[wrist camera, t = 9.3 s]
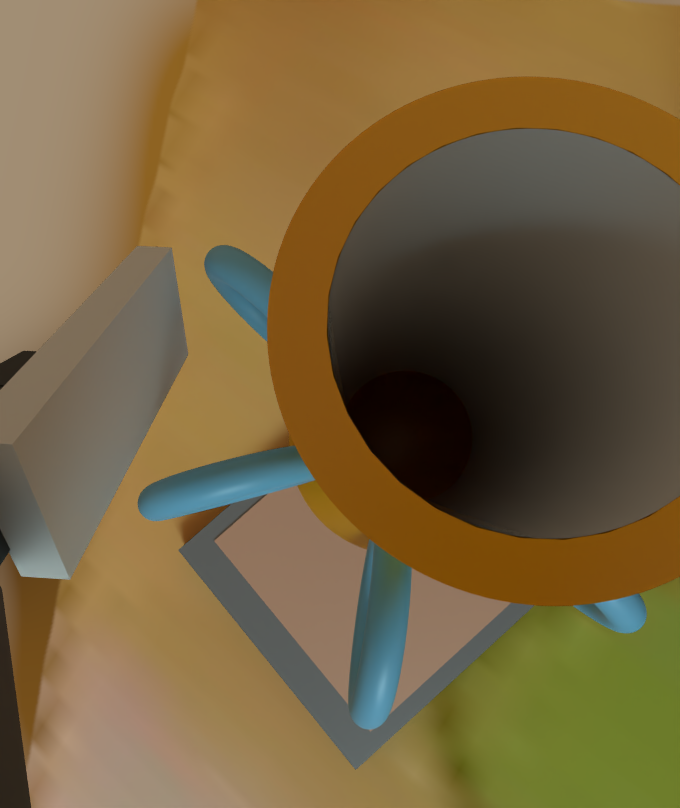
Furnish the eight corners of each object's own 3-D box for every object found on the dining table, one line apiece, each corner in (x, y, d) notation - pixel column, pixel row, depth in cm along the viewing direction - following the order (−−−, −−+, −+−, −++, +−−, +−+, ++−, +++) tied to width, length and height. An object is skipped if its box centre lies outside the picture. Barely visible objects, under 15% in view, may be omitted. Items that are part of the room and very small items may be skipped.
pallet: (378, 377, 35) (378, 374, 34) (556, 574, 33) (563, 578, 32) (184, 547, 34) (177, 550, 33) (355, 758, 32) (355, 770, 31)
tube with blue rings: (152, 447, 19) (-537, 308, 4) (353, 233, 20) (373, -484, 5) (423, 701, 18) (828, 1812, 3) (622, 457, 19) (1663, 345, 4)
